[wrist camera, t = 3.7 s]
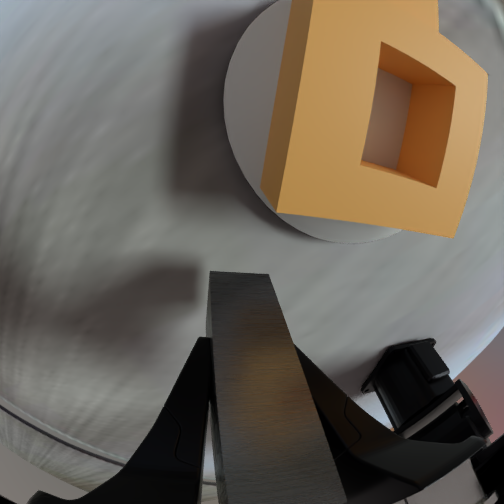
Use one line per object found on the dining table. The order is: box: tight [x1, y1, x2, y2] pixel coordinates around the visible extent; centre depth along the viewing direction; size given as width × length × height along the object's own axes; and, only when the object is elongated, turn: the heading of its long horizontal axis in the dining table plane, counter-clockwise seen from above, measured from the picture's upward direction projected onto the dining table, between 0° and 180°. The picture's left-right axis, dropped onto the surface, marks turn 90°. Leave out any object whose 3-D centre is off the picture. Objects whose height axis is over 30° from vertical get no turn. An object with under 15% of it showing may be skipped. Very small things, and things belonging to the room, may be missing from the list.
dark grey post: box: [206, 271, 348, 504], centre depth 8 cm, size 3×2×9 cm
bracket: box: [223, 0, 488, 244], centre depth 8 cm, size 19×13×4 cm
